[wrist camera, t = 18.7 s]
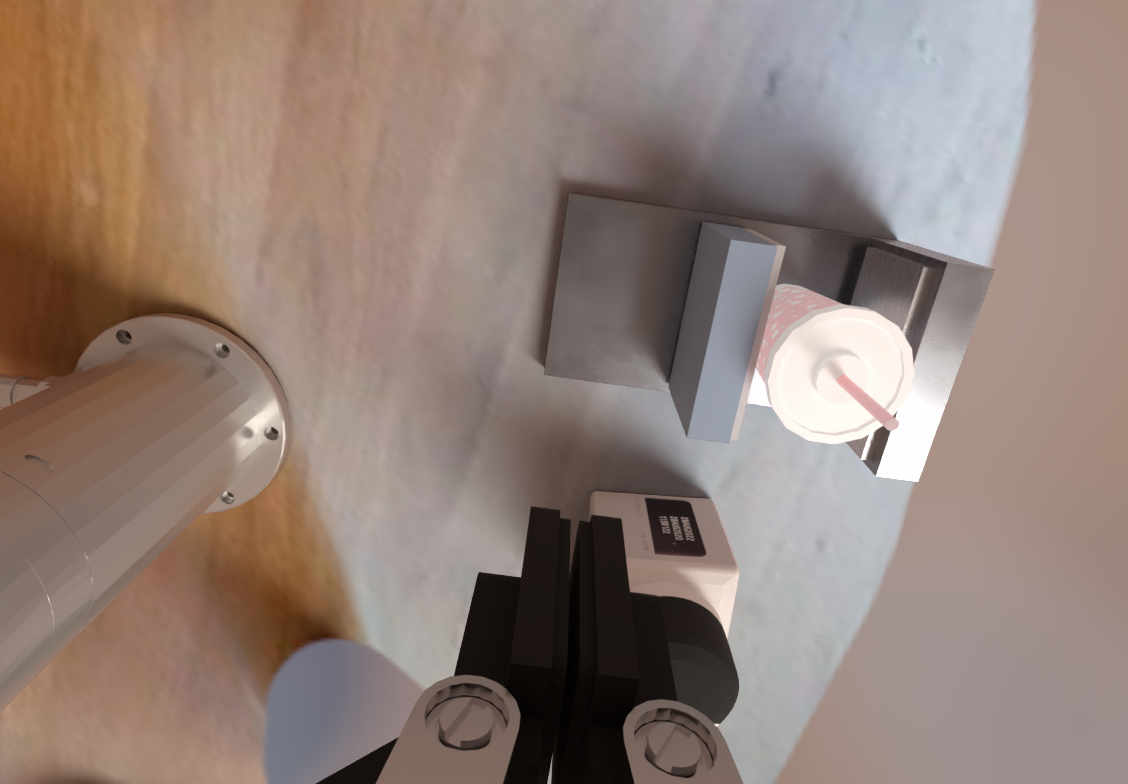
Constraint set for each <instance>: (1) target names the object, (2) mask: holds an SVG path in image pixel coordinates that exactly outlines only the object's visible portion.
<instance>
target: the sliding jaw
mask: <svg viewBox="0 0 1128 784" xmlns="http://www.w3.org/2000/svg"><path fill="white" fill-rule="evenodd" d="M785 249H786V246H784V245H782V244H780V243H778V242H776V241H774V240H772V239H770V238H768V237H766V236H764V235H762V234H760V233H758V232H756V231H754V230H750V229H744V228H741V227H735V226H729V225H722V224H715V223H708V222H702V227H701V231H700V236H699V241H698V246H697V251H696V256H695V260H694V265H693V270H692V275H691V280H690V285H689V290H688V294H687V299H686V304H685V309H684V314H683V319H682V324H681V328H680V333H679V338H678V343H677V348H676V353H675V357H674V362H673V367H672V372H671V377H670V382H669V387H668V388H669V390H670V393H671V396H672V398H673V401H674V404H675V407H676V409H677V412H678V415H679V418H680V420H681V423H682V426H683V428H684V431H685V434H686V437H687V438H692V439H699V440H706V441H713V442H721V443H728V444H729V442H730V440H736V441H737V439H738V436H739V432H740V428H741V424H742V420H743V416H744V412H745V408H746V404H747V400H748V396H749V392H750V388H751V384H752V380H753V376H754V372H755V368H756V364H757V360H758V356H759V352H760V348H761V344H762V340H763V336H764V332H765V328H766V324H767V320H768V316H769V312H770V308H771V304H772V300H773V296H774V292H775V288H776V284H777V280H778V276H779V272H780V268H781V264H782V260H783V257H784V253H785Z"/></svg>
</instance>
